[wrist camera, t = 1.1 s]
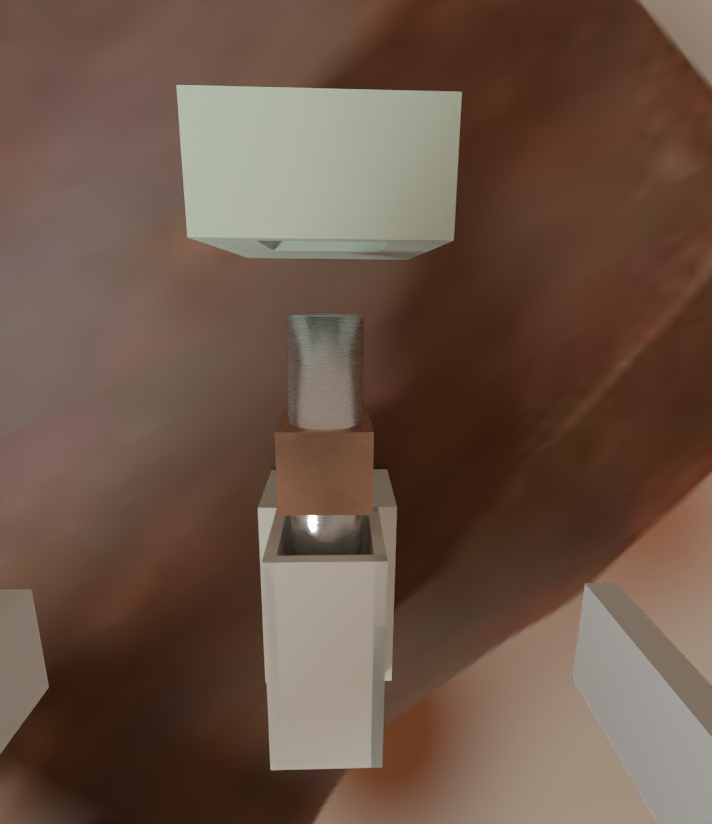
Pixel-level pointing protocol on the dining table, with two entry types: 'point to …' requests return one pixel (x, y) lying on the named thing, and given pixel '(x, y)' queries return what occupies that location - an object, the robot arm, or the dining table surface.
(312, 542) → the tube
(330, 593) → the sleeve
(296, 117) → the socket block
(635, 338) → the dining table surface
